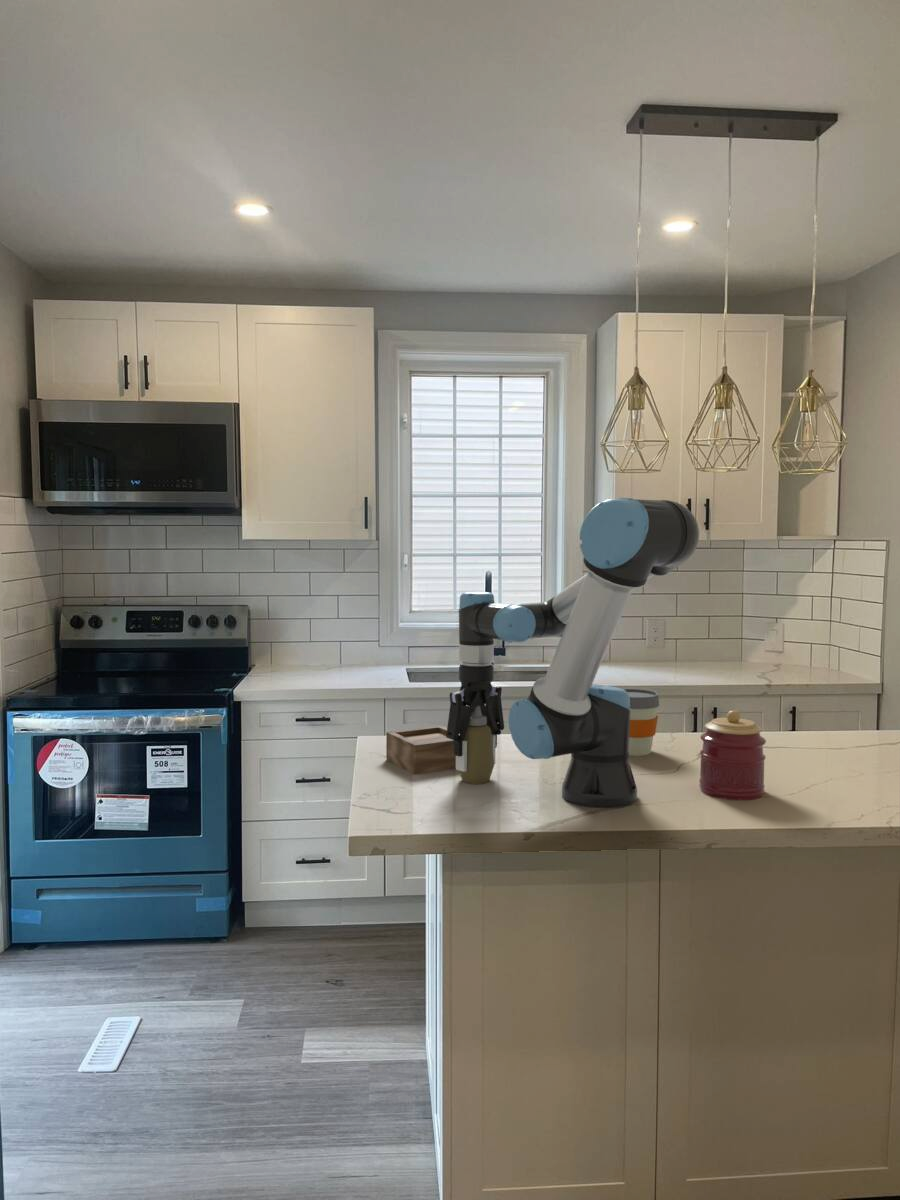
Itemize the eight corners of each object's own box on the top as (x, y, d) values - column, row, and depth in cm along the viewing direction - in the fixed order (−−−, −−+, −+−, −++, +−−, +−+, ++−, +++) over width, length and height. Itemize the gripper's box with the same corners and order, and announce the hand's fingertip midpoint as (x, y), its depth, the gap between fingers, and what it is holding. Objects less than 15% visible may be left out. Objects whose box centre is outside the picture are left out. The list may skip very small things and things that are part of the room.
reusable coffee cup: (595, 751, 218) (596, 691, 217) (630, 744, 225) (631, 686, 224) (633, 761, 208) (635, 699, 207) (668, 754, 215) (670, 694, 214)
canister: (775, 794, 182) (777, 710, 181) (746, 807, 173) (749, 719, 172) (717, 781, 191) (719, 702, 190) (687, 794, 182) (689, 710, 181)
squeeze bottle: (494, 786, 186) (495, 703, 185) (457, 786, 187) (457, 703, 185) (493, 776, 195) (494, 696, 193) (457, 776, 195) (457, 696, 193)
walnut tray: (472, 768, 203) (472, 737, 202) (415, 776, 195) (415, 745, 195) (441, 754, 216) (441, 725, 215) (386, 761, 208) (386, 732, 208)
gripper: (497, 657, 199) (496, 755, 200) (428, 666, 184) (428, 771, 186) (521, 660, 193) (520, 761, 195) (452, 670, 179) (452, 779, 181)
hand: (475, 766), depth 190 cm, fingers closed on squeeze bottle, 8 cm apart
